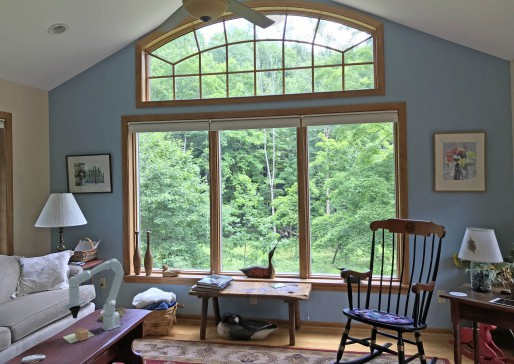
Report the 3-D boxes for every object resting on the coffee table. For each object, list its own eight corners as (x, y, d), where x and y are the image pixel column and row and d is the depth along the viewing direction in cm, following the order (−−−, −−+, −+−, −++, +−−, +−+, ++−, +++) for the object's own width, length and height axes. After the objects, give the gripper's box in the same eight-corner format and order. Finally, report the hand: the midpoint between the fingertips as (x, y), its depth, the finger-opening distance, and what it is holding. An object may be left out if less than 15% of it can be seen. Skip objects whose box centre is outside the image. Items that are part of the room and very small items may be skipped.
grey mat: (86, 330, 236) (86, 329, 236) (94, 335, 228) (94, 334, 228) (62, 337, 226) (62, 336, 226) (70, 343, 218) (70, 342, 218)
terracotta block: (82, 327, 228) (87, 331, 223) (82, 334, 228) (88, 338, 223) (75, 330, 225) (80, 333, 219) (75, 337, 225) (80, 340, 219)
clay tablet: (114, 311, 271) (96, 321, 252) (114, 304, 271) (96, 313, 252) (131, 313, 268) (113, 323, 248) (131, 306, 268) (113, 315, 248)
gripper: (67, 300, 222) (67, 323, 222) (88, 293, 234) (89, 315, 234) (60, 299, 225) (60, 321, 225) (81, 292, 238) (82, 313, 238)
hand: (75, 318), depth 230 cm, fingers closed
